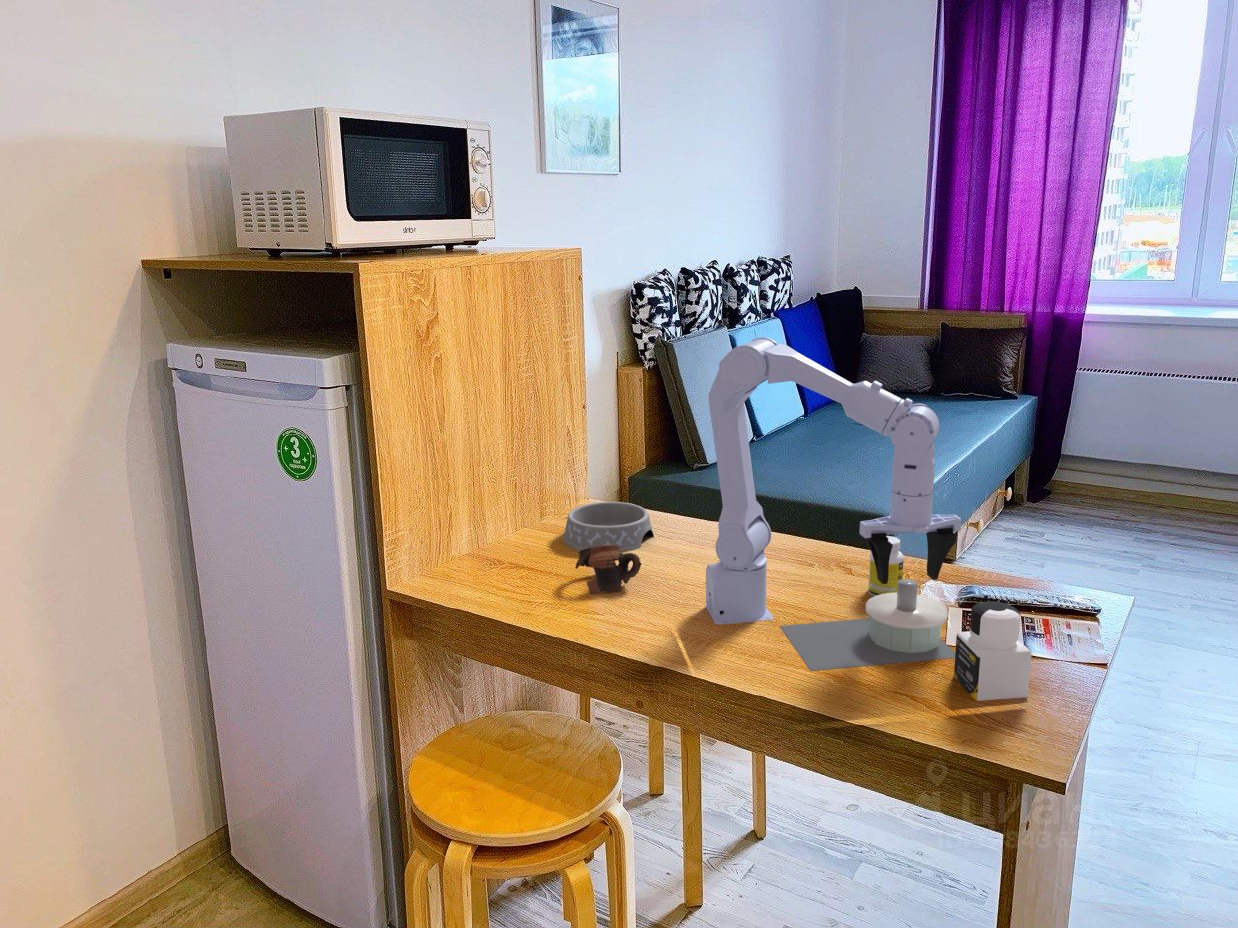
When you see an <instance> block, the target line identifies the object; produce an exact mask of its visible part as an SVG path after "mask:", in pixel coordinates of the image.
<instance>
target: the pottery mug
mask: <svg viewBox="0 0 1238 928" xmlns="http://www.w3.org/2000/svg"><path fill="white" fill-rule="evenodd" d="M578 556H579V557H578V559H577V562H576V564H575V569H579V567H586V568H592V569H593V571H594V573H595V576H596V577H595V579H594V578H593V579H591V580H588V581H586V586H587V588H588V589H587V590H588V592H589V594H597V593H603V592H607V593H610V592H611V593H612V592H621V591H622V583H624V584H626V585H627V584H628V583H629V581H630V579H632V578H635V577H636V576H637V575H638V573H639V572H640V569H641V566H642V562H641V560H640V559H641V558H640V557H639V556H638V555H637V554H635V553H632V552H625V553H623V552H620V550H619V546H617V545H602V546H596V547H591V548H586V549H584V550H581V551H579V550H578ZM616 561H618V564H617V563H616ZM630 562H632V566H631V568H630V569H629V564H630Z"/></svg>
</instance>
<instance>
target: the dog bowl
mask: <svg viewBox="0 0 1238 928" xmlns="http://www.w3.org/2000/svg"><path fill="white" fill-rule="evenodd" d="M566 519H567V520H566V524H565V528H564V532H563V537H562V541H563V543H564V544H565V545H566V546H567V547H569V548H570V549H573V550H576V551H578V552H579V551H581V550H584V549H586V548H591V547H596V546H602V545H617V546H619V550H620V553H624V552H625V553H627V552H629V551H630V552H631V551H635V550H638V549H640V548H642V547H641V546H642V542H643V538H644V536H645V535H646V533H649V531H650V532H651V533H652V535H653V537H655V534H654V530H653V528H652V522H651V517H650V514H649V511H648V510H647V509H645V508H644V507H642V506H641V505H637V504H633V503H630V502H621V501H599V502H591V503H587V504H583V505H580V506H577V507H575V508H573V509H571V510H570V512H569V513H568V514H567V518H566Z"/></svg>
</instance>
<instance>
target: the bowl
mask: <svg viewBox="0 0 1238 928" xmlns="http://www.w3.org/2000/svg"><path fill="white" fill-rule="evenodd" d="M869 618H870V617H869ZM941 634H942V625H940V626H938V627H934V628H930V629H923V630H907V629H899V628H894V627H889V626H886V625H883V624H880V623H878V622H876V621H874V620H873V619H871V618H870V626H869V637H870V638H871V639H872V640H873V641H874V643H875V644H877V645H879V646H882V647H884V648H886V649H889V650H892V651H899V652H906V653H917V652H928V651H930V650H932V649H934V648H936V647H938V646H939V643H940V639H941V636H942V635H941Z"/></svg>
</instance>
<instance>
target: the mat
mask: <svg viewBox="0 0 1238 928" xmlns="http://www.w3.org/2000/svg"><path fill="white" fill-rule="evenodd" d="M869 626H870V617H869V618H868V617H867V618H856V619H855V618H854V619H845V620H832V621H822V622H821V621H820V622H811V623H810V622H809V623H808V622H807V623H798V624H797V623H796V624H787V625H785V624H783V625H779V628H780V629H781V631H782V632H783V634H784V635H785V636H786V637H787V639H788V640H789V642H790V644H791V645H792V646H793V648H794V649H795V651H796V652H797V653H798V655H799V657H800V658H801V659H802V661H803V662H804V664H805V665H806V666H807V668H808V669H809V671H810V672H814V671H826V670H827V671H828V670H836V669H838V670H839V669H848V668H859V667H871V666H879V665H880V666H881V665H889V664H890V665H891V664H892V665H893V664H900V663H901V664H902V663H913V662H923V661H924V662H925V661H935V660H946V659H955V651H954V650H953V649H952V647H950V646H949V645H948V644H947V643H946V642H945V641H943V639H942V638H940V643H939V646H938V647H936V648H934V649H932V650H930V651H928V652H917V653H906V652H899V651H892V650H889V649H886V648H884V647H882V646H879V645H877V644H875V643H874V641H873V640H872V639H871V638H870V637H869Z"/></svg>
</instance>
